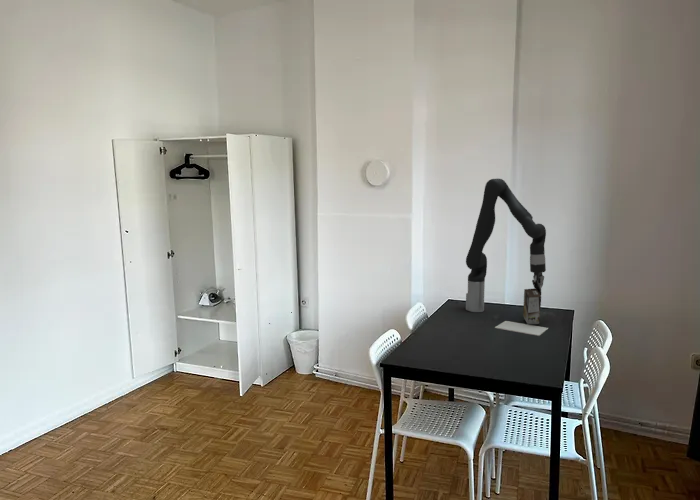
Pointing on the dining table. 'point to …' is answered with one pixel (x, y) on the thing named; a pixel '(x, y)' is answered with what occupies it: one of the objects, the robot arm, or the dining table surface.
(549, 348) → the dining table surface
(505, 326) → the grey mat
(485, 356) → the dining table surface
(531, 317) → the coffee box
